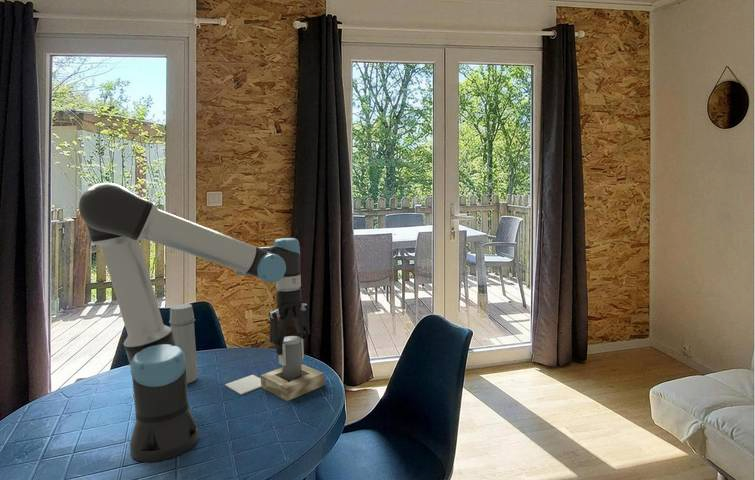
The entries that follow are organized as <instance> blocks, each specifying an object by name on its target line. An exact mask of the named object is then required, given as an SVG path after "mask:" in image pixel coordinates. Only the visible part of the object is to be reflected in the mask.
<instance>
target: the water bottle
mask: <svg viewBox="0 0 755 480" xmlns="http://www.w3.org/2000/svg"><path fill="white" fill-rule="evenodd" d="M195 321H196V319H195V314H194V309H193V305H192V304H190V303H180V304H175V305H172V306H170V308H169V321H168V323H169V324H170V325H169V327H170V328H171V330H172V333H173V336H174V340H175V343H176V346H178V347H179V348H181V349H182V350H183V352H184V355H185V358H186V378H187V385H188V384H191V383H193V382H195V381H196V380H197V379H198V377H199V375H198V362H197V348H196V335H195V334H196V333H195Z"/></svg>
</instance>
